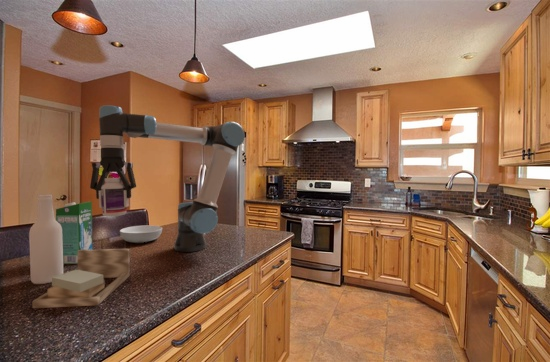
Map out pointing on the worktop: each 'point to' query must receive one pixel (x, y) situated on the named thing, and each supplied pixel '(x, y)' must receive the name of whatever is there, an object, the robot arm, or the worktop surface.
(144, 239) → the serving bowl
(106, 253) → the rack
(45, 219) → the alcohol
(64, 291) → the block
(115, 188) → the pill bottle
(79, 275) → the offcut top
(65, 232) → the milk carton
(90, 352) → the worktop surface
